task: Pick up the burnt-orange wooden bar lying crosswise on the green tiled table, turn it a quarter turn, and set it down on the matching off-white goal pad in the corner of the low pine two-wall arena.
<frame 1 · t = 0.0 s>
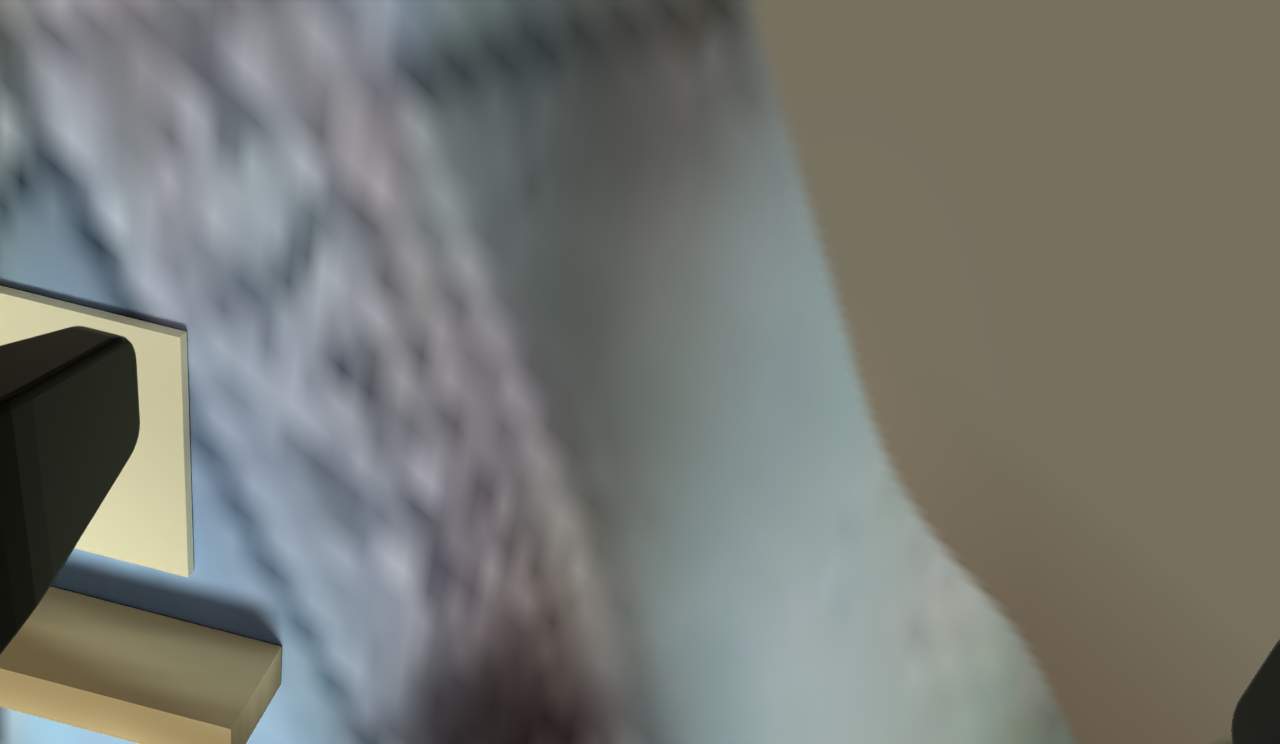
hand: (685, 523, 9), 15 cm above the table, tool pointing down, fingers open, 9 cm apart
arena: (2, 411, 29), on the table
goal pad: (2, 411, 29), on the table
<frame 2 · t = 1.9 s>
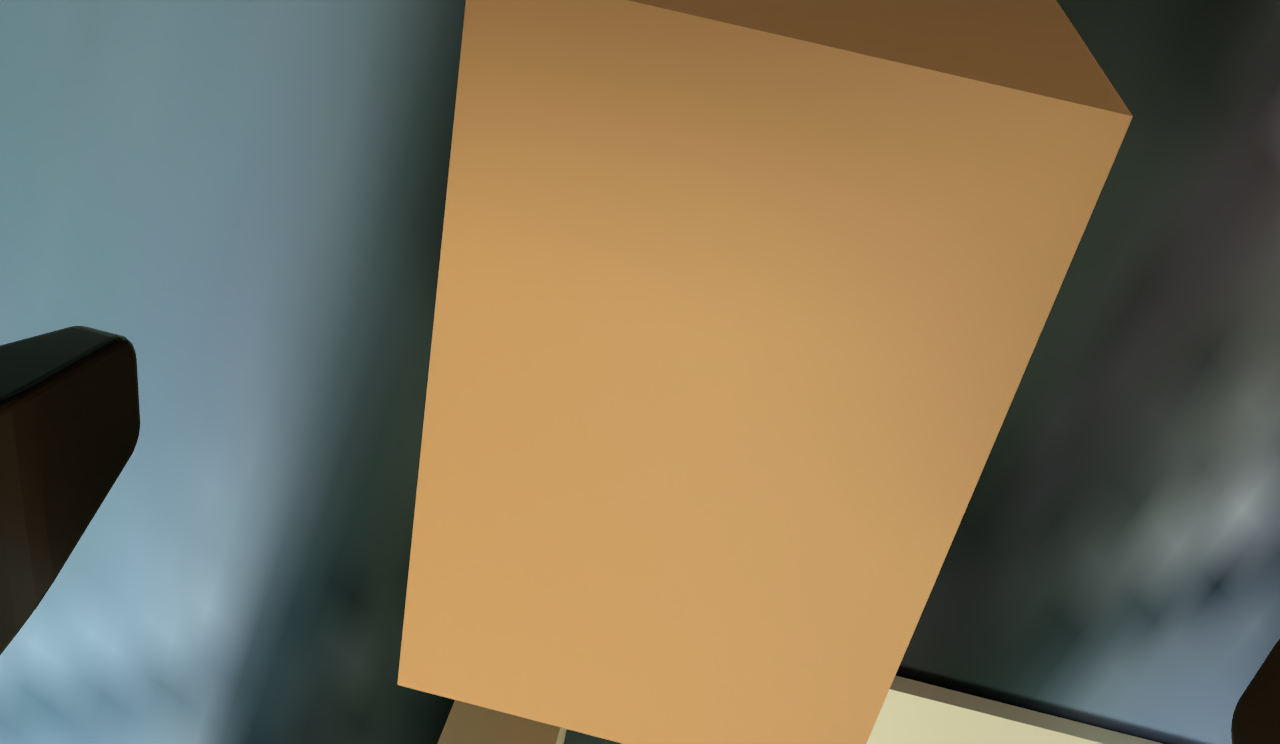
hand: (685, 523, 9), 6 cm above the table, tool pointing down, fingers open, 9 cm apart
orange bar: (742, 222, 14), on the table
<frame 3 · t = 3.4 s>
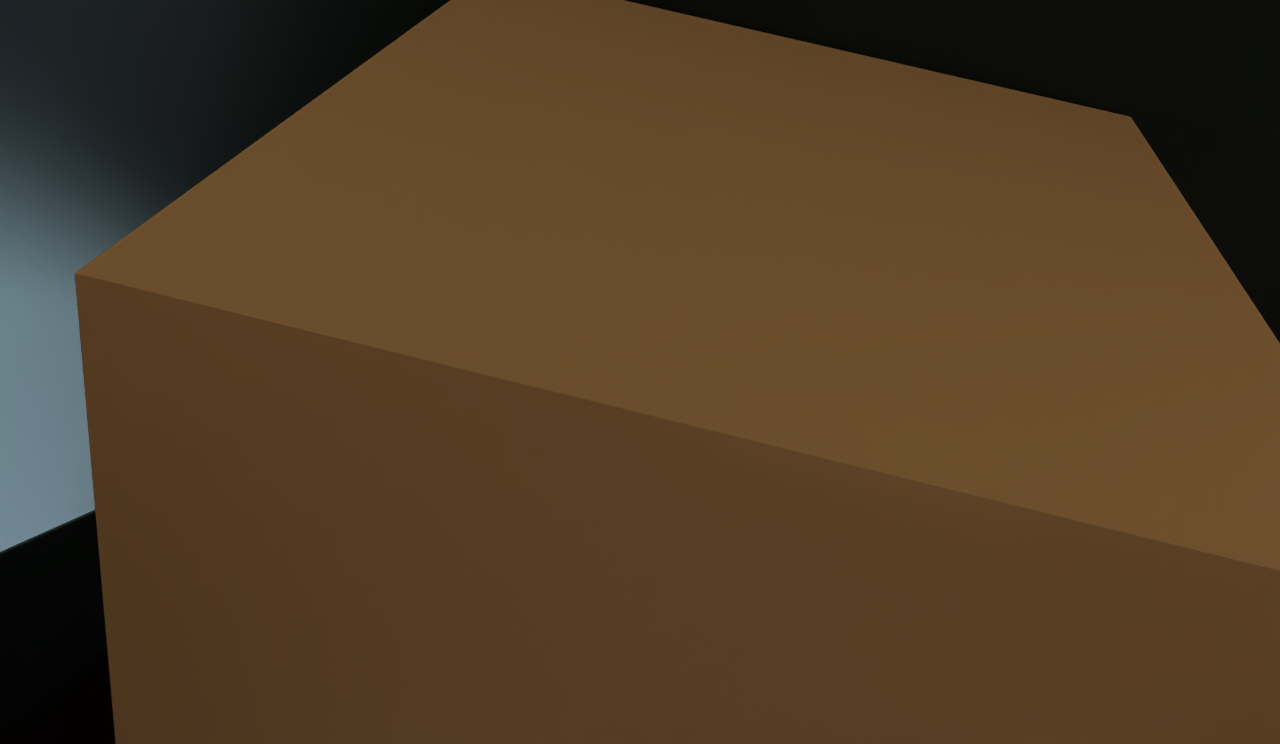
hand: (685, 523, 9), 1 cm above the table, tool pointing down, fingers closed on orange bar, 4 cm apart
orange bar: (701, 449, 10), on the table, touching gripper
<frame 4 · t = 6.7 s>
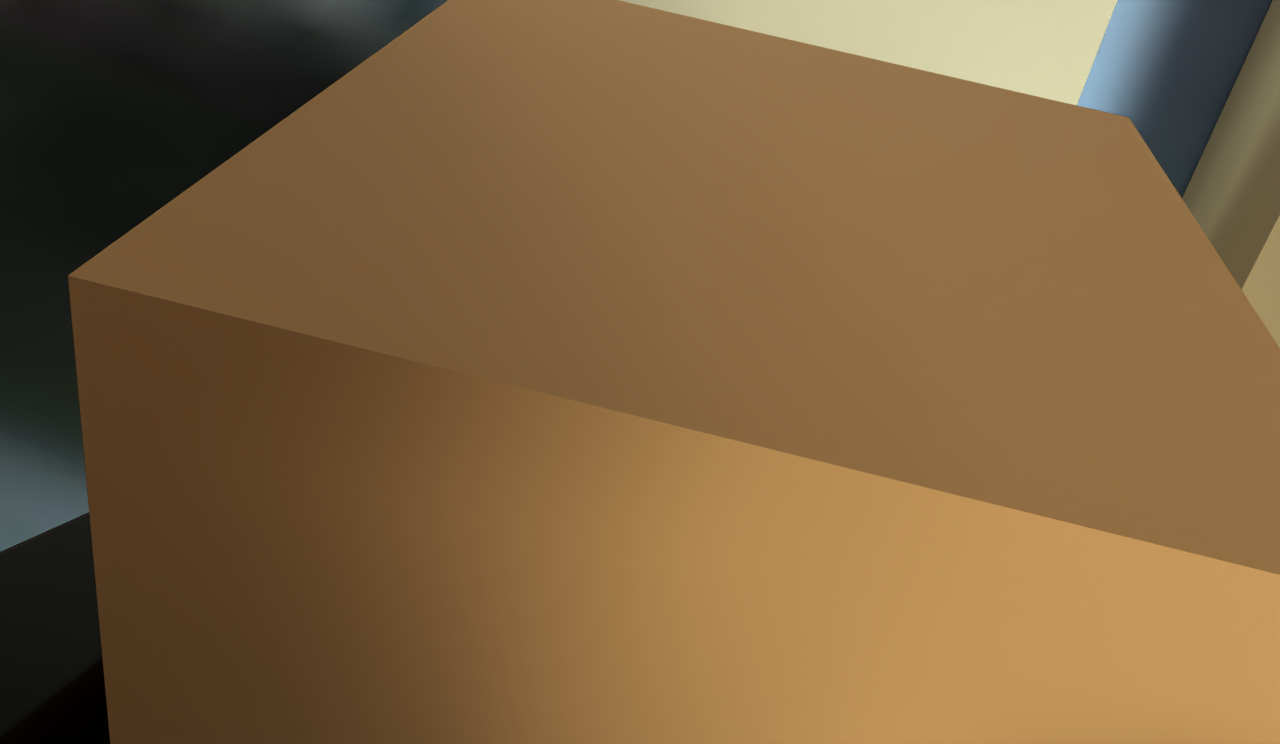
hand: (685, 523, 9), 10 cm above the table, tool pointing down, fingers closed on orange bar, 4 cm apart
arena: (791, 127, 17), on the table
goal pad: (791, 127, 17), on the table
orange bar: (699, 450, 10), point 9 cm above the table, touching gripper
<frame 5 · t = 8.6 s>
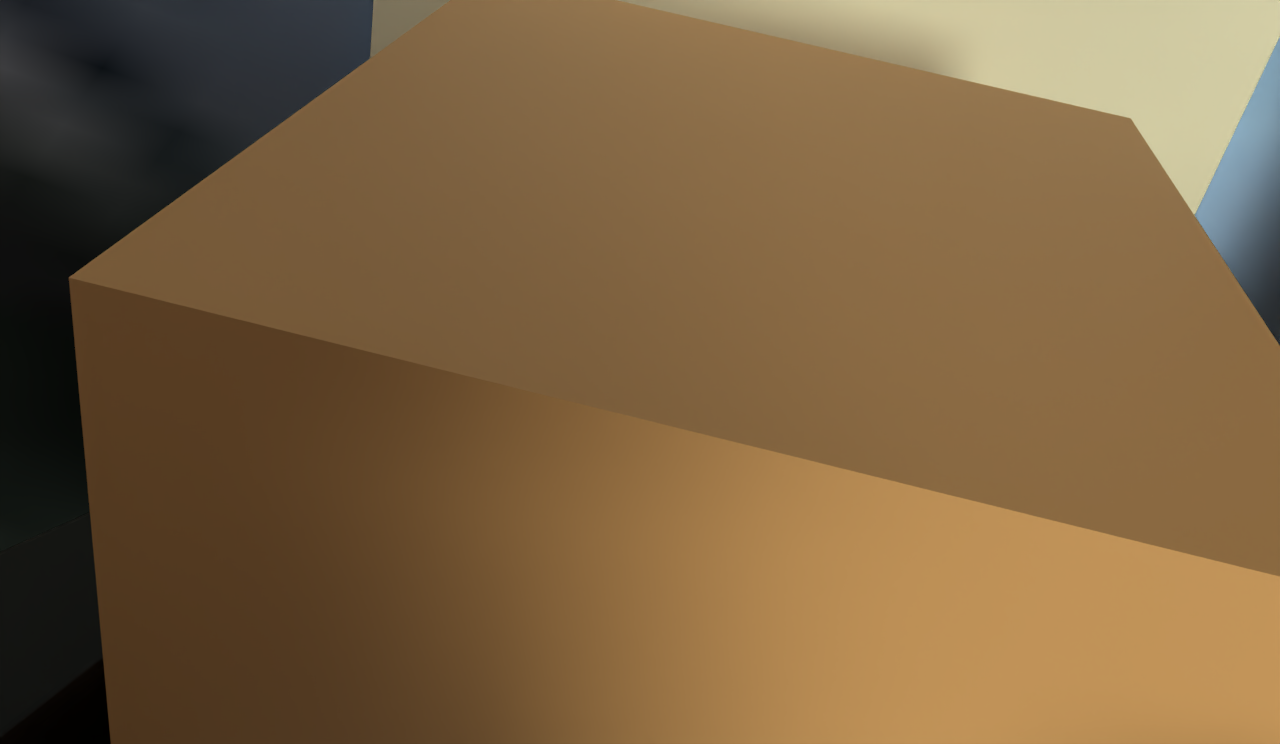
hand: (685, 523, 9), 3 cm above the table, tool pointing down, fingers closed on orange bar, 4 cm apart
goal pad: (722, 328, 12), on the table
orange bar: (700, 451, 10), point 2 cm above the table, touching gripper
when the fingers open (2 cm above the table, at t = 10.2 s): orange bar stays where it is, resting on goal pad.
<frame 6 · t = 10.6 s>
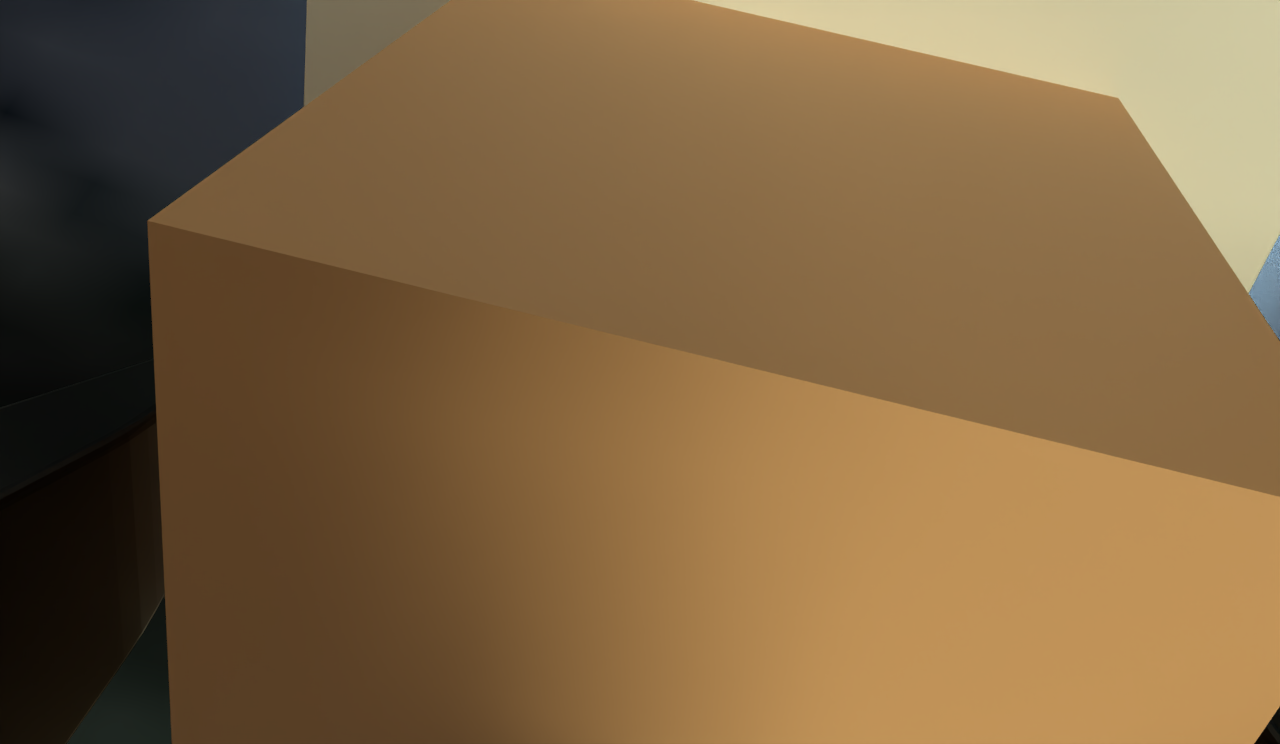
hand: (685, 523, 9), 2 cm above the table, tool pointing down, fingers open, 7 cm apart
goal pad: (708, 405, 10), on the table
orange bar: (707, 421, 10), resting on goal pad
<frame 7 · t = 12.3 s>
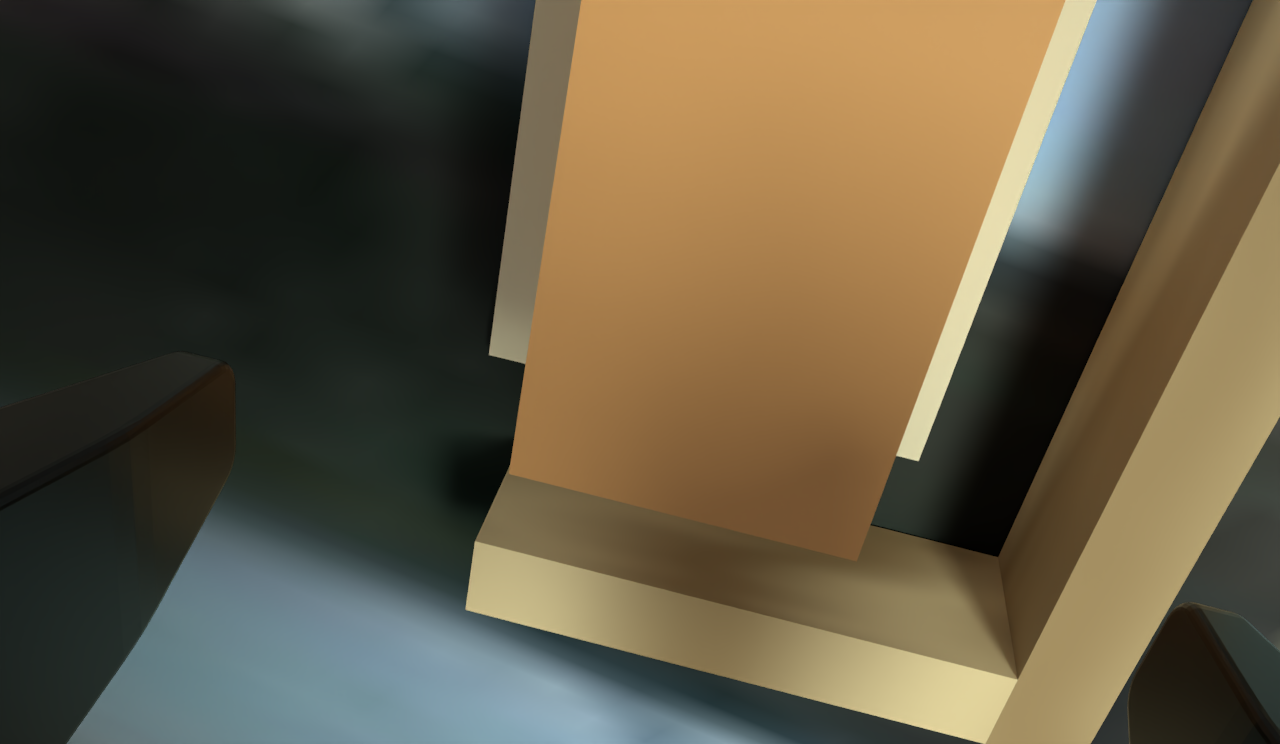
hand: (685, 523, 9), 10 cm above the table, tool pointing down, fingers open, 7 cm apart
arena: (773, 122, 17), on the table
goal pad: (773, 122, 17), on the table
orange bar: (774, 128, 17), resting on goal pad
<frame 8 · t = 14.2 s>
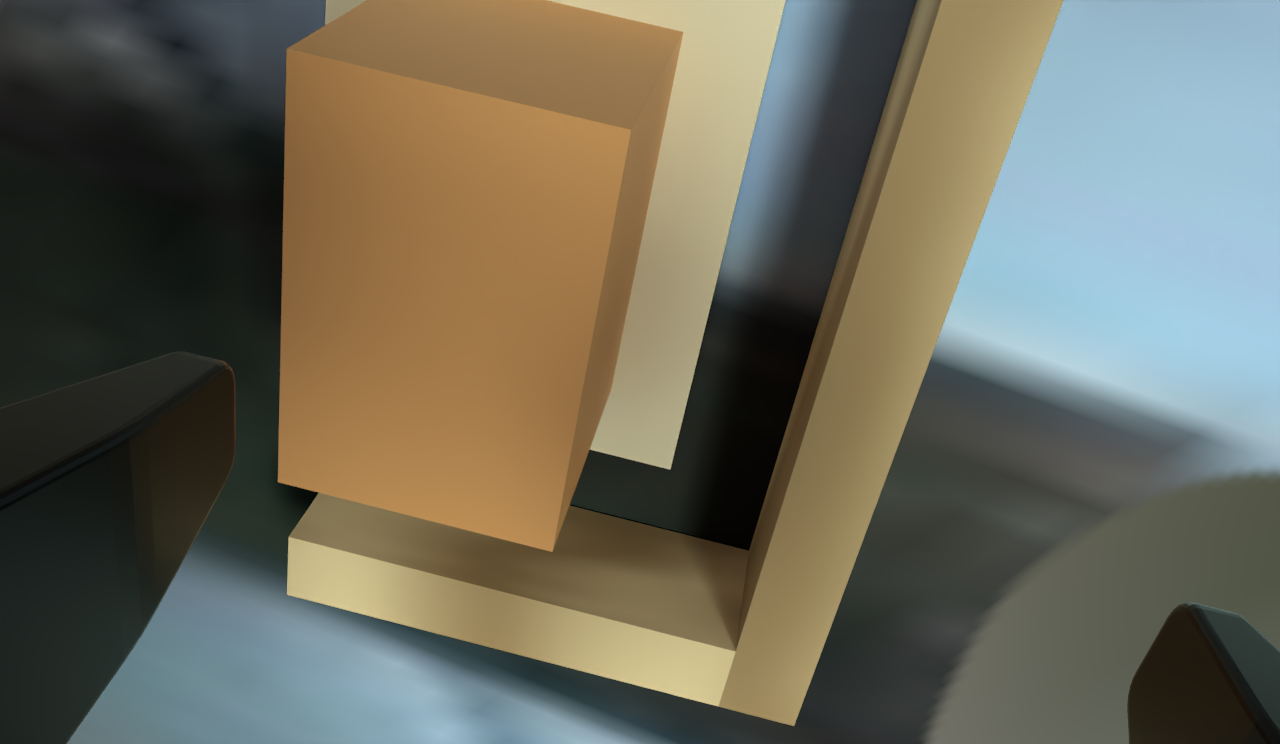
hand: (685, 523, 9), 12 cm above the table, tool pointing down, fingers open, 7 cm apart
arena: (525, 191, 21), on the table
goal pad: (525, 191, 21), on the table
orange bar: (522, 197, 21), resting on goal pad
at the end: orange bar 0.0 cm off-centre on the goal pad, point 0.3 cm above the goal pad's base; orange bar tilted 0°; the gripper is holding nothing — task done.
